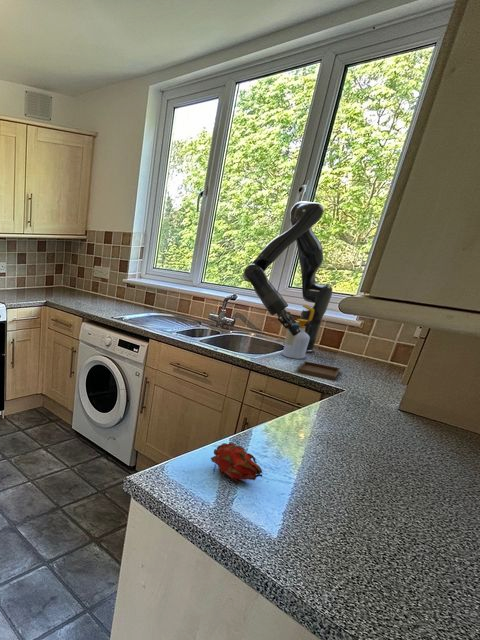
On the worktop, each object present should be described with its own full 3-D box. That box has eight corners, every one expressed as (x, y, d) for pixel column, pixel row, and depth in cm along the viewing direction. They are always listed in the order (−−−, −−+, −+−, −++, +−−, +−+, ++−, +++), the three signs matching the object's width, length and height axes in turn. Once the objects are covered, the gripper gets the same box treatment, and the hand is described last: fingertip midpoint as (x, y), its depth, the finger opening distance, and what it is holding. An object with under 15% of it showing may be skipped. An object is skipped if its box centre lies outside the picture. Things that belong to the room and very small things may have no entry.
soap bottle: (286, 352, 203) (300, 303, 194) (306, 357, 196) (322, 306, 187) (279, 355, 197) (293, 304, 188) (299, 360, 191) (315, 308, 182)
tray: (303, 364, 185) (305, 361, 184) (338, 371, 177) (340, 368, 176) (297, 372, 174) (298, 368, 173) (334, 380, 166) (335, 376, 165)
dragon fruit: (208, 466, 104) (251, 497, 95) (197, 458, 98) (243, 490, 89) (228, 440, 103) (274, 469, 95) (219, 430, 97) (267, 460, 89)
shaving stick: (284, 341, 185) (290, 322, 182) (295, 343, 183) (301, 324, 180) (282, 343, 182) (288, 324, 179) (293, 345, 180) (299, 325, 177)
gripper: (278, 299, 175) (303, 331, 172) (285, 295, 185) (308, 326, 182) (262, 309, 180) (285, 341, 177) (269, 305, 190) (292, 335, 187)
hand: (297, 333), depth 180 cm, fingers closed on shaving stick, 4 cm apart
